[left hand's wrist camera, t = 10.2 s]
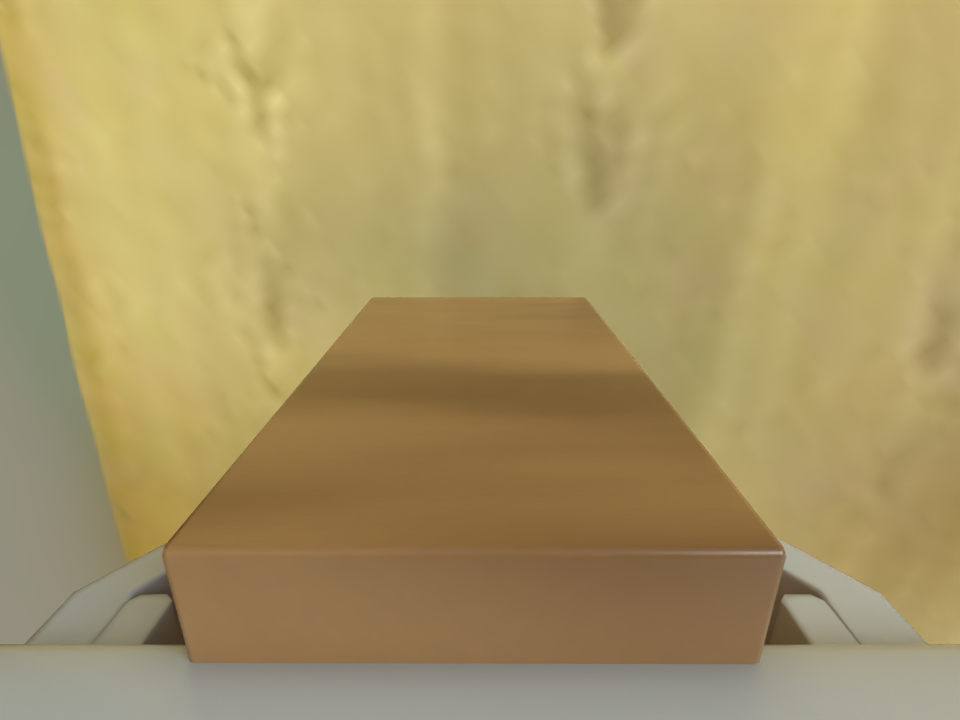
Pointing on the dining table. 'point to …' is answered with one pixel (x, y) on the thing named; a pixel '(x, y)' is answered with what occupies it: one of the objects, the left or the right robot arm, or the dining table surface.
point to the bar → (475, 507)
